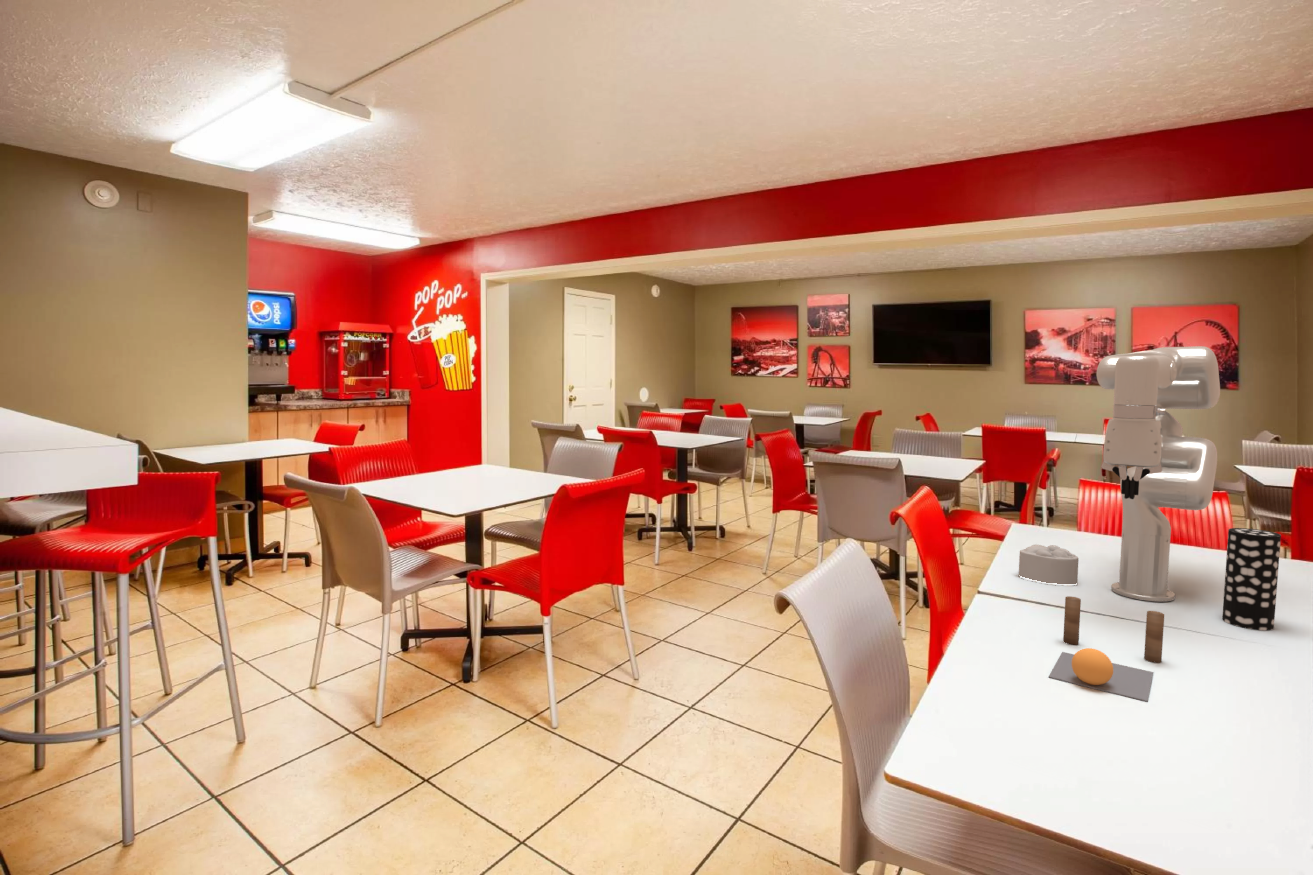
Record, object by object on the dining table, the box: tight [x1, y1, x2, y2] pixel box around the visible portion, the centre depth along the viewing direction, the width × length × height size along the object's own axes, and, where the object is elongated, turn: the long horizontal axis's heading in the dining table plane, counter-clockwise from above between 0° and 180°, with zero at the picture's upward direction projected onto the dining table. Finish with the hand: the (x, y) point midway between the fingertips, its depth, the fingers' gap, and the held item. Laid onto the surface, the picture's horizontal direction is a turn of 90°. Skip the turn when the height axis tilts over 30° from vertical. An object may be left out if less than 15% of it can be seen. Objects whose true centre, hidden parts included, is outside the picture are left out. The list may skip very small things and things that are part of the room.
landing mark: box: [1048, 651, 1154, 703], centre depth 117 cm, size 14×14×1 cm
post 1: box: [1062, 595, 1082, 646], centre depth 131 cm, size 3×3×9 cm
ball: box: [1072, 647, 1113, 685], centre depth 113 cm, size 6×6×6 cm
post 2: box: [1143, 610, 1165, 664], centre depth 123 cm, size 3×3×9 cm
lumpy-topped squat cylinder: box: [1018, 544, 1079, 584], centre depth 174 cm, size 10×13×9 cm
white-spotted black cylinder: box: [1221, 527, 1282, 631], centre depth 141 cm, size 8×8×20 cm
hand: (1129, 497), depth 143 cm, fingers closed
